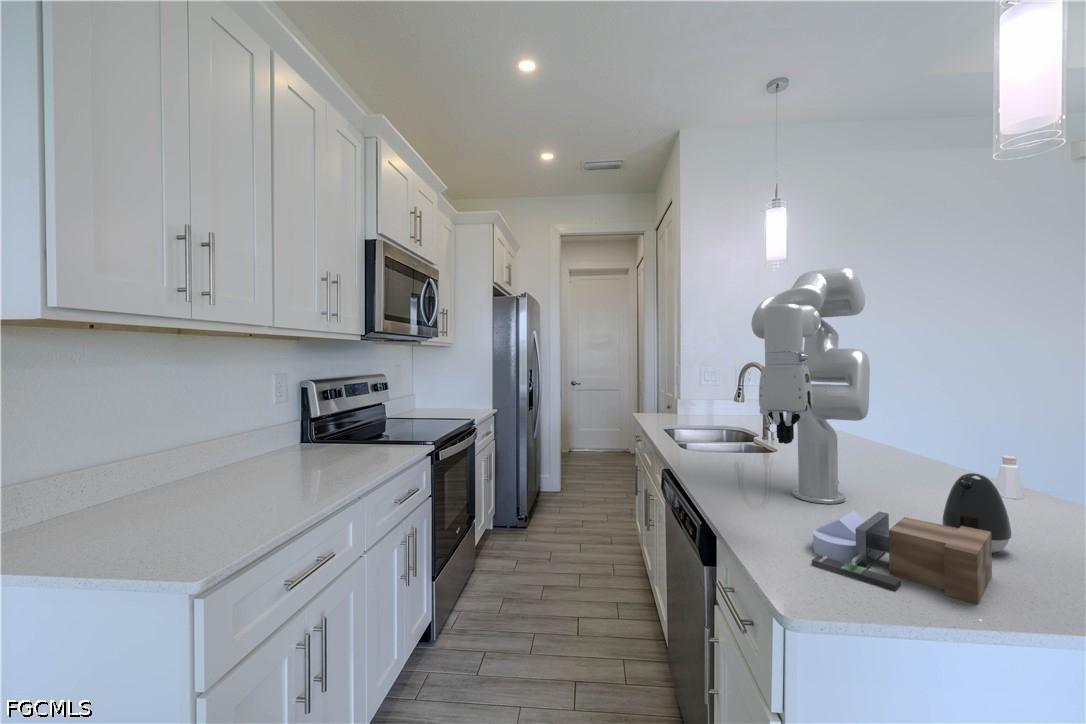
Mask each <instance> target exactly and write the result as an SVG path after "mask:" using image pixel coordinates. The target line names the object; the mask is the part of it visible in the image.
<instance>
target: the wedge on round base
mask: <svg viewBox="0 0 1086 724" xmlns="http://www.w3.org/2000/svg"><path fill="white" fill-rule="evenodd" d="M865 521H866V519H865V518H863V517H862V516H860V514H859V513H857V512H856V511H854V509H853V510H851V511H849V512H846V513H844V514H841V515H840V516H837V517H834V518H832V519H830V520H829V521H827V522H825V523H824V524H822V525H820V526H819V527H818V528H816V529H814V530H813V531H812V532H813V533H812V535H813V536H812V537H813V538H812V540H813V541H812V542H813V544H812V545H813V551H814V552H815V553H816V554H817V555H819V556H822V557H824V556H826V557H828V558H829V559H833V560H836V561H839V562H843V563H850V564H851V560H852V559H853V558H855V557H856V528H857V527H858V526H860V525H861V524H862V523H864V522H865Z"/></svg>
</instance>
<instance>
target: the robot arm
mask: <svg viewBox="0 0 1086 724" xmlns="http://www.w3.org/2000/svg"><path fill="white" fill-rule="evenodd" d="M865 295H866V294H865V292H864V289H863V285H862V284H861V281H860V279H859V276H858V274H857V273H856V272H855V270H853V269H852V268H849V267H846V266H845V267H835V268H828V269H819V270H818V269H817V270H812V271H807V272H805V273H803V274H801V275H800V276H799V277H797V279H796V280H795V282H794V283H793V285H792V286H791V288H790V289H787V290H785V291H783V292H780V293H778V294H775V295H773V296H771V297H768V298H766V299H764V300H763V301H762V302H760V304H759V305H758V306H757V307H756V309H755V310H754V313H753V315H752V317H751V324H750V325H751V331H752V333H753V334H754V335H755V336H756V337H757V338H758V339H763V340H764V366H762V367H761V372H760V377H759V385H758V406H759V407H760V408H759V414H761V415H763V416H767V417H769V418H770V419H771V420H772V422H773V423H774V425H775V426H776V438H777V439H778V443H779V444H784V445H785V444H786V445H787V444H790V443H793V440H794V437H795V431H794V430H795V428H794V426H795V425H796V427H797V459H798V463H797V465H798V466H797V469H798V470H797V471H798V472H797V473H798V474H797V475H798V487H795V488H793V489H792V495H793V496H794V497H795V498H798V499H800V500H801V501H806V502H810V503H815V504H816V503H817V504H825V505H826V504H827V505H829V504H831V505H834V504H841V503H844V502H845V501H846V495H844V493H842V492H839V484H840V481H839V466H838V465H839V464H838V463H839V462H838V461H839V460H838V458H839V457H838V455H839V454H838V435H837V432H836V431H835V429H834V427H832V426H831V424H830V423H829V422H828V421H827V420H835V421H836V420H837V421H839V420H840V421H856V422H857V421H862V420H865V418H867V416H868V412H869V407H870V377H871V371H870V370H871V369H870V367H871V366H870V359H869V356H868V354H867V353H866V351H864V350H862V349H860V348H852V347H851V348H839V336H840V335H839V333H838V332H837V330H836V329H835V328H834V327H833V326H832V325H831V324H829V323H828V322H827V321H825V320H824V319H823V318H836V317H853V316H857V315H859V314H861V313H862V312H863V311H864V307H865V306H866V305H865V304H866V296H865ZM812 382H814V383H813V384H812ZM821 383H822V384H821ZM826 383H827V384H826ZM829 383H837V384H829ZM838 383H844V384H838ZM784 412H785V413H784ZM784 414H785V415H784Z"/></svg>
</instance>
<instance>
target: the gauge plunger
mask: <svg viewBox="0 0 1086 724" xmlns="http://www.w3.org/2000/svg"><path fill="white" fill-rule="evenodd" d="M889 514H890V513H888V512H883V511H878V512H876V513H875V514H873V515H872V516H870V518H868V519H867V520H865V522H864V523H862V524H861V525H860V526H858V527H857V528H856V557H855V558H853V559H852V560H851V563H850V564H852V565H855V566H856V565H857V566H860V567H864V568H866V569H867V570H868V568H869V567H870V566H871V565H872V564H873V563H874V562H875V561H876V560H877V559H879V558H880V557H881V556H882V555H883V554H884V553H887V554H889V529H890V518H889Z"/></svg>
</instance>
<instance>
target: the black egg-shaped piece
mask: <svg viewBox="0 0 1086 724" xmlns="http://www.w3.org/2000/svg"><path fill="white" fill-rule="evenodd" d="M1009 517H1010V516H1009V514H1008V511H1007V508H1006V506H1005V502H1004V500H1003V497H1001V496H1000V494H999V492H998V490H997V486H996V485H995V484H994V483H993V481H991V480H990V478H988V477H986V476H985V475H982V474H980V473H974V472H971V473H970V472H969V473H965V474H962V475H961V476H959V477H958V478H957V479H956V481H955V482H953V485H952V487H951V489H950V491H949V494H948V497H947V499H946V502H945V505H944V508H943V514H942V525H945V526H950V527H955V528H960V527H961V526H965V527H970V528H975V529H980V530H985V531H990V532H991V539H992V554H994V553H997V552H1000V551H1003V550H1004V549H1005V548H1006V547H1007V545H1008V543H1009V541H1010V539H1011V538H1012V534H1013V533H1012V526H1011V522H1010V518H1009Z"/></svg>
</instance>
